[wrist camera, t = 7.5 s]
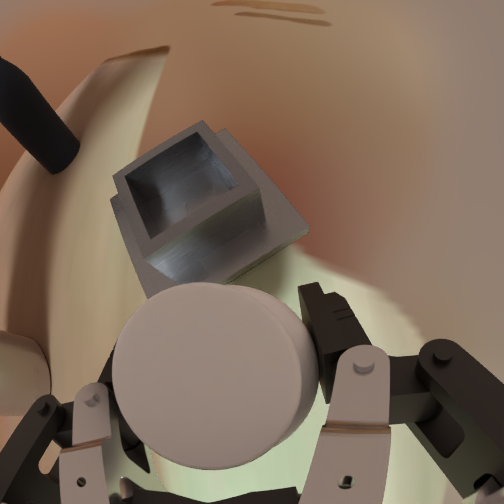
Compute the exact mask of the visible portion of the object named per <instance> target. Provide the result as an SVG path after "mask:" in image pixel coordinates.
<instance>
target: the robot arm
mask: <svg viewBox="0 0 504 504" xmlns="http://www.w3.org/2000/svg"><path fill="white" fill-rule="evenodd" d="M298 294H299V301H300V308H301V315H302V322H303V323H304V325H305V326H306V328H307V330H308V331H309V333H310V335H311V337H312V340H313V342H314V345H315V348H316V352H317V356H318V363H319V382H320V385H321V388H322V392H323V395H324V399H325V402H326V404H329V403H330V406H329V411H328V415H327V420H326V423H325V425H323V426H322V428H321V431H320V434H319V438H318V442H317V445H316V449H315V453H314V456H313V460H312V463H311V466H310V470H309V473H308V476H307V480H306V483H305V486H304V489H303V492H302V494H298V492H297V489H296V486H295V487H289V488H283V489H275V490H267V491H258V492H250V493H247V494H243V495H240V496H236V497H232V498H228V499H224V500H220V501H216V502H210V503H206V502H201V501H197V500H193V499H190V498H186V497H183V496H179V495H176V494H173V493H170V492H168V491H167V489H166V488H165V486H164V485H163V484H162V482H161V481H160V479H159V477H158V475H157V472H156V468H155V465H154V461H153V457H152V453H151V450H150V448H149V447H148V446H146V445H145V444H144V443H143V442H142V441H141V440H140V439H139V438H138V437H137V435H136V434H135V433H134V432H133V430H132V429H131V428H130V426H129V425H128V423H127V422H126V420H125V418H124V416H123V415H122V413H121V411H120V408H119V406H118V403H117V400H116V397H115V393H114V388H113V382H112V363H113V355H114V350H115V346H116V344H115V346H114V350H112V352H111V354H110V357H109V358H108V360H107V362H106V364H105V366H104V369H103V371H102V373H101V375H100V377H99V379H98V382H96V383H91V384H88V385H86V386H85V387H83V388H82V389H81V390H80V391H79V392H78V393H77V395H76V397H75V399H74V401H73V402H69V403H64V404H61V403H60V402H59V401H58V400H57V399H56V398H55V397H54V396H53V395H50V375H49V369H48V365H47V362H46V359H45V356H44V354H43V352H42V350H41V348H40V347H39V345H38V344H37V343H36V342H35V341H34V340H33V339H31V338H29V337H25V336H21V335H17V334H13V333H9V332H5V331H2V330H0V416H24V417H23V419H22V420H21V422H20V423H19V425H18V426H17V428H16V429H15V431H14V432H13V434H12V435H11V437H10V438H9V440H8V441H7V443H6V445H5V446H4V448H3V449H2V451H1V453H0V504H382V502H383V497H384V491H385V485H386V478H387V471H388V463H389V454H390V444H391V427H389V425H391V424H403V423H405V424H406V425H407V426H408V427H409V429H410V430H411V431H412V433H413V434H414V435H415V436H416V438H417V439H418V440H419V442H420V443H421V444H422V445H423V447H424V448H425V449H426V451H427V452H428V453H429V454H430V456H431V457H432V458H433V460H434V461H435V462H436V464H437V465H438V466H439V468H440V469H441V470H442V471H443V473H444V474H445V475H446V477H447V478H448V479H449V481H450V482H451V483H452V485H453V486H454V487H455V489H456V490H457V491H458V493H459V494H460V495H461V497H462V498H463V499H464V500H463V501H462V503H461V504H504V384H503V383H502V382H500V381H499V380H498V379H497V378H496V377H495V376H494V375H493V374H492V373H491V372H489V371H488V370H487V369H486V368H485V367H484V366H483V365H482V364H480V363H479V362H478V361H477V360H476V359H475V358H473V357H472V356H471V355H470V354H469V353H468V352H466V351H465V350H464V349H463V348H461V347H460V346H459V345H458V344H457V343H455V342H453V341H451V340H447V339H435V340H432V341H429V342H428V343H426V344H425V345H424V346H423V347H422V348H421V350H420V352H419V355H414V356H402V357H394V356H388V355H387V354H386V353H385V352H384V351H383V350H382V349H380V348H378V347H376V346H373V345H372V344H371V342H370V340H369V339H368V337H367V335H366V333H365V332H364V330H363V328H362V326H361V325H360V323H359V321H358V319H357V318H356V317H355V314H354V313H353V311H352V309H351V308H350V306H349V304H348V302H347V301H346V299H345V298H344V297H342V296H341V295H339V294H337V293H336V292H332V293H328V294H324V293H323V291H322V289H321V287H320V285H319V283H318V282H314V283H310V284H306V285H301V286H298ZM116 343H117V342H116ZM52 440H53V441H54V442H55V443H56V444H57V445H59V446H60V447H61V448H62V449H61V451H60V454H59V457H58V458H57V460H56V462H55V464H54V465H53V467H52V469H51V471H50V472H49V473H48V474H42V473H41V472H40V470H39V467H38V464H39V461H40V459H41V457H42V456H43V454H44V452H45V451H46V449H47V447H48V446H49V444H50V442H51V441H52Z"/></svg>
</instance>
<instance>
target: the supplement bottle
mask: <svg viewBox="0 0 504 504" xmlns="http://www.w3.org/2000/svg"><path fill="white" fill-rule="evenodd" d="M112 382H113V388H114V393H115V397H116V400H117V403H118V406H119V408H120V411H121V413H122V415H123V416H124V418H125V420H126V422H127V423H128V425H129V426H130V428H131V429H132V430H133V432H134V433H135V434H136V435H137V437H138V438H139V439H140V440H141V441H142V442H143V443H144V444H145V445H146V446H148V447H149V448H150V449H152V450H153V451H154V452H156V453H157V454H159V455H160V456H162V457H164V458H166V459H168V460H170V461H172V462H174V463H177V464H179V465H182V466H186V467H190V468H195V469H202V470H223V469H229V468H233V467H238V466H241V465H244V464H246V463H249V462H251V461H253V460H255V459H257V458H259V457H260V456H262V455H264V454H265V453H266V452H268V451H269V450H270V449H271V448H273V447H275V446H276V445H278V444H280V443H281V442H283V441H284V440H285V439H287V438H288V437H289V436H290V435H292V434H293V433H294V432H295V431H296V430H297V428H298V427H299V426H300V425H301V424H302V422H303V421H304V420H305V418H306V417H307V415H308V413H309V412H310V410H311V408H312V405H313V403H314V400H315V397H316V394H317V389H318V383H319V363H318V356H317V352H316V348H315V345H314V342H313V340H312V337H311V335H310V333H309V331H308V330H307V328H306V326H305V325H304V323H303V322H302V321H301V319H300V318H299V317H298V316H297V315H296V313H295V312H294V311H292V310H291V309H290V308H289V307H288V306H287V305H286V304H284V303H283V302H281V301H280V300H279V299H277V298H275V297H274V296H272V295H270V294H268V293H265V292H263V291H261V290H258V289H255V288H251V287H246V286H240V285H221V284H216V283H207V282H195V283H187V284H182V285H178V286H174V287H171V288H168V289H166V290H163V291H161V292H159V293H157V294H156V295H154V296H152V297H151V298H149V299H148V300H147V301H145V302H144V303H143V304H142V305H141V306H139V308H138V309H137V310H136V311H135V312H134V313H133V314H132V315H131V316H130V318H129V319H128V320H127V322H126V324H125V325H124V327H123V329H122V331H121V333H120V335H119V338H118V340H117V343H116V346H115V350H114V355H113V363H112Z"/></svg>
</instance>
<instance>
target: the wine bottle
mask: <svg viewBox="0 0 504 504" xmlns="http://www.w3.org/2000/svg"><path fill="white" fill-rule="evenodd" d="M0 122H1V123H2V125H3V126H4V127H5V128H6V129H7V130H8V131H9V132H10V133H11V134H12V135H13V136H14V137H15V138H16V139H17V140H18V141H19V143H20V144H21V145H22V146H23V147H24V148H25V149H26V150H27V151H28V152H29V153H30V154H31V155H32V156H33V157H34V158H35V159H36V160H37V161H38V162H39V163H40V164H41V165H42V166H44V167H45V168H46V169H47V170H48V171H49V172H50V173H52V174H55V173H58V172H60V171H62V170H63V169H64V168H66V167H67V166H68V165H69V164H70V163H71V162H72V160H73V159H74V157H75V156H76V154H77V152H78V150H79V147H80V143H79V141H78V140H77V138H76V137H75V136H74V135H73V134H72V132H71V131H70V130H69V129H68V127H67V126H66V125H65V124H64V122H63V121H62V120H61V119H60V117H59V116H58V115H57V114H56V112H55V111H54V110H53V109H52V107H51V106H50V105H49V103H48V102H47V101H46V100H45V98H44V97H43V96H42V94H41V93H40V92H39V90H38V89H37V88H36V86H35V85H34V84H33V83H32V81H31V80H30V78H29V77H28V76H27V75H26V74H25V73H24V72H22V70H20V69H19V68H18V67H17V66H15V65H13V64H12V63H10V62H8V61H6V60H4V59H2V58H1V56H0Z"/></svg>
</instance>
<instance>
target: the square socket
mask: <svg viewBox="0 0 504 504" xmlns="http://www.w3.org/2000/svg"><path fill="white" fill-rule="evenodd" d="M113 179H114V182H115V185H116V188H117V191H118V194H117V195H115V196H114V197H112V198H111V199H110V201H111V205H112V208H113V211H114V214H115V217H116V220H117V223H118V226H119V228H120V231H121V234H122V237H123V240H124V242H125V245H126V248H127V250H128V253H129V256H130V258H131V261H132V263H133V266H134V268H135V271H136V273H137V276H138V278H139V280H140V283H141V285H142V287H143V290H144V292H145V294H146V297H147V299H149V298H151V297H152V296H154V295H156V294H157V293H159V292H161V291H163V290H166V289H168V288H171V287H174V286H178V285H182V284H187V283H195V282H207V283H216V284H221V285H226V284H228V283H229V282H231V281H233V280H234V279H236V278H237V277H239V276H241V275H242V274H244V273H245V272H247V271H249V270H250V269H252V268H253V267H255V266H257V265H258V264H260V263H261V262H263V261H264V260H266V259H268V258H269V257H271V256H272V255H274V254H276V253H277V252H279V251H280V250H282V249H283V248H285V247H287V246H288V245H290V244H291V243H293V242H294V241H296V240H298V239H299V238H301V237H302V236H304V235H305V234H307V233H308V232H309V225H308V224H307V223H306V221H305V220H304V219H303V218H302V216H301V215H300V214H299V213H298V211H297V210H296V209H295V208H294V206H293V205H292V204H291V203H290V202H289V200H288V199H287V198H286V197H285V196H284V194H283V193H282V192H281V191H280V190H279V189H278V187H277V186H276V185H275V184H274V183H273V182H272V180H271V179H270V178H269V177H268V176H267V175H266V173H265V172H264V171H263V170H262V169H261V168H260V166H259V165H258V164H257V163H256V162H255V161H254V160H253V158H252V157H251V156H250V155H249V154H248V153H247V152H246V151H245V150H244V148H243V147H242V146H241V145H240V144H239V143H238V142H237V141H236V139H234V137H233V136H232V135H231V134H230V133H229V132H228V131H227V130H226V129H223V130H222V131H219V132H217V133H215V134H214V133H213V131H212V130H211V129H210V128H209V127H208V126H207V125H206V123H205V122H204V121H203V120H202V121H200V122H198V123H197V124H195V125H193V126H191V127H189V128H188V129H186V130H184V131H182V132H180V133H178V134H177V135H175V136H173V137H172V138H170V139H168V140H166V141H165V142H163V143H162V144H160V145H158V146H157V147H155V148H153V149H152V150H150V151H148V152H147V153H145V154H144V155H142V156H141V157H139V158H138V159H136V160H135V161H133V162H132V163H130V164H129V165H127V166H126V167H124V168H123V169H121V170H120V171H118V172H117V173H116V174H114V175H113Z"/></svg>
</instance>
